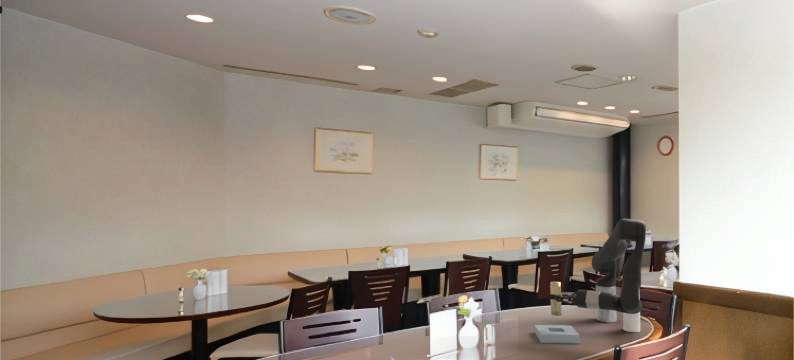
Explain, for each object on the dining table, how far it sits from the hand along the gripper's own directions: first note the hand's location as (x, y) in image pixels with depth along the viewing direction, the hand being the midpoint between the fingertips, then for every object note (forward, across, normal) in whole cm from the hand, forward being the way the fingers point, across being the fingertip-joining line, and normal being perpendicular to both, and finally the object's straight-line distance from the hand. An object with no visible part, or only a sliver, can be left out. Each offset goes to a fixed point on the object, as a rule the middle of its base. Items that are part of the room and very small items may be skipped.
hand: (549, 295), depth 224 cm
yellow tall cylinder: (-3, 0, +8) cm, 8 cm away
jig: (-3, 0, +18) cm, 18 cm away
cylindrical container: (-27, -32, +18) cm, 46 cm away
